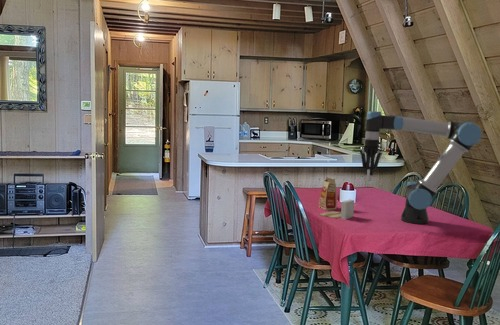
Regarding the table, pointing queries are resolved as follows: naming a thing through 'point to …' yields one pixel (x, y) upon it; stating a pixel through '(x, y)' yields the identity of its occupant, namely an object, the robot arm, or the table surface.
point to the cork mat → (331, 214)
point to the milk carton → (328, 195)
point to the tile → (347, 209)
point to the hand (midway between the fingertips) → (368, 180)
